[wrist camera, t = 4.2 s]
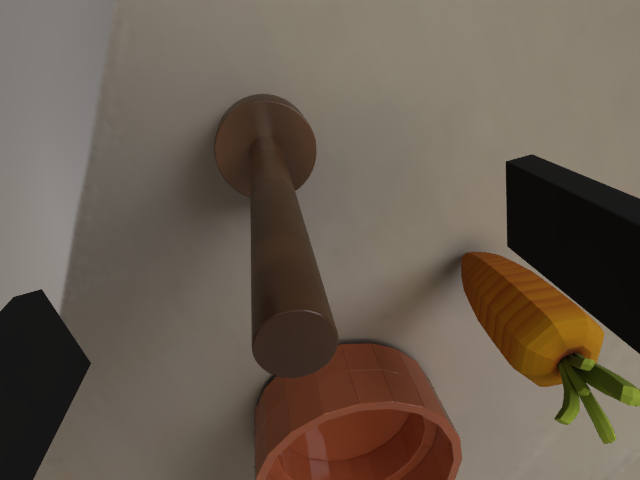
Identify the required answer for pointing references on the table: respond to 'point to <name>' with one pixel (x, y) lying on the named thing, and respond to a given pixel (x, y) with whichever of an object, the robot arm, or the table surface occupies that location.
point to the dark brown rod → (278, 233)
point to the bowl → (356, 422)
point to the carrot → (543, 335)
